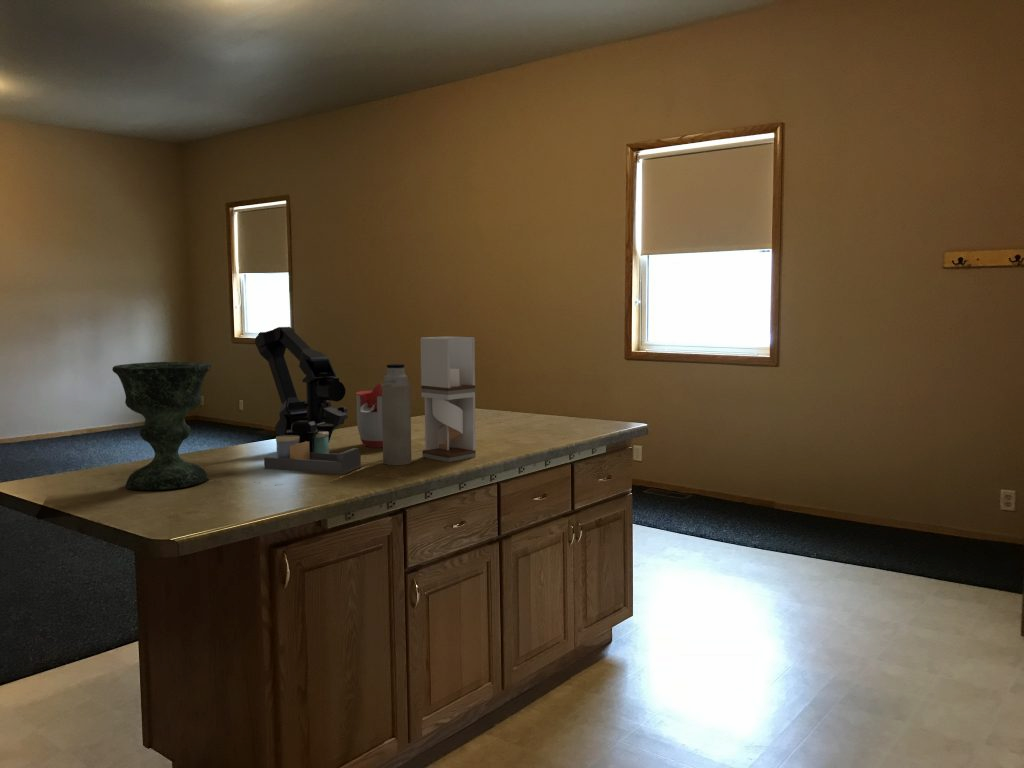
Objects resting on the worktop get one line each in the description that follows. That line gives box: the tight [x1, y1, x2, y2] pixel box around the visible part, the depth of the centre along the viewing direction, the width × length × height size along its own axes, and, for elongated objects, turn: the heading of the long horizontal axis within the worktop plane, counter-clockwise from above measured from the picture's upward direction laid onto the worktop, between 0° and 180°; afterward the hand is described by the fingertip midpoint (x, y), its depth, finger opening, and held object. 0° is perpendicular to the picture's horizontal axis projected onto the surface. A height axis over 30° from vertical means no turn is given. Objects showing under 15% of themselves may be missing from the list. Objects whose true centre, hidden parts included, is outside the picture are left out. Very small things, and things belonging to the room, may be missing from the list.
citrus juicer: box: [355, 382, 383, 448], centre depth 261 cm, size 16×17×20 cm
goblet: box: [112, 361, 212, 491], centre depth 206 cm, size 22×22×30 cm
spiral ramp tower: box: [420, 336, 477, 463], centre depth 240 cm, size 11×11×35 cm
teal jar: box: [313, 431, 330, 453], centre depth 238 cm, size 6×6×8 cm
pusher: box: [290, 441, 310, 460], centre depth 224 cm, size 1×8×6 cm, turn 163°
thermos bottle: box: [382, 363, 412, 466], centre depth 232 cm, size 8×8×28 cm
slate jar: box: [275, 435, 300, 458], centre depth 225 cm, size 6×6×8 cm
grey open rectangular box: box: [263, 447, 362, 477], centre depth 223 cm, size 23×11×6 cm, turn 73°
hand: (318, 452), depth 239 cm, fingers open, 8 cm apart
